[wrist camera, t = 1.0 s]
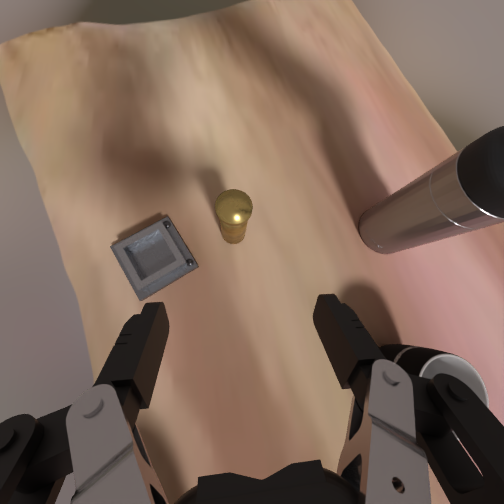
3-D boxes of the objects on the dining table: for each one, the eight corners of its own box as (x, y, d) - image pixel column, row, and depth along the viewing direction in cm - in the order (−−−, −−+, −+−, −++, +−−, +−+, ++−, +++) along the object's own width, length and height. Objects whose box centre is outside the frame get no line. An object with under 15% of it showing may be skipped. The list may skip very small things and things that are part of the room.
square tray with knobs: (169, 218, 35) (164, 211, 33) (198, 266, 34) (196, 264, 32) (112, 247, 33) (103, 243, 31) (142, 300, 32) (134, 301, 30)
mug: (399, 329, 35) (465, 342, 25) (423, 385, 33) (503, 422, 24) (337, 354, 33) (382, 378, 23) (359, 414, 32) (417, 467, 22)
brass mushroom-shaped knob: (237, 216, 37) (239, 183, 26) (251, 237, 36) (259, 212, 26) (215, 228, 36) (208, 200, 25) (229, 250, 35) (227, 230, 25)
